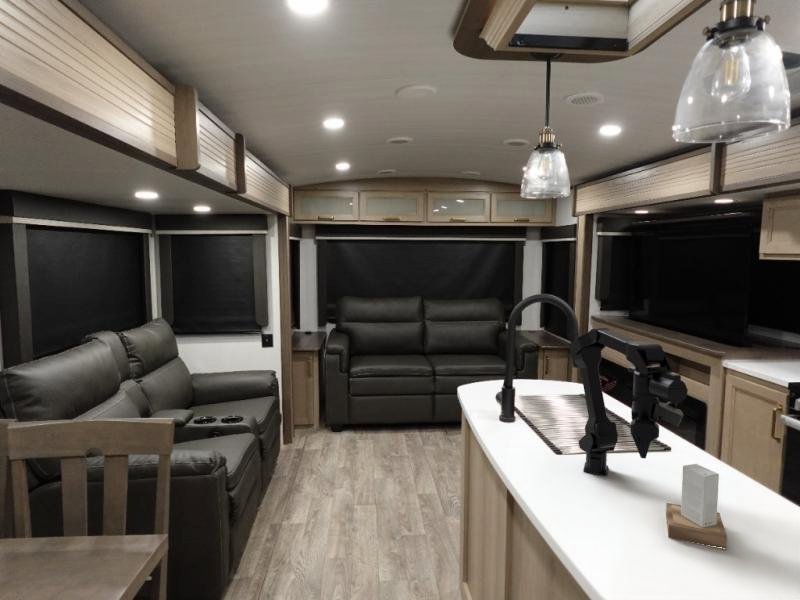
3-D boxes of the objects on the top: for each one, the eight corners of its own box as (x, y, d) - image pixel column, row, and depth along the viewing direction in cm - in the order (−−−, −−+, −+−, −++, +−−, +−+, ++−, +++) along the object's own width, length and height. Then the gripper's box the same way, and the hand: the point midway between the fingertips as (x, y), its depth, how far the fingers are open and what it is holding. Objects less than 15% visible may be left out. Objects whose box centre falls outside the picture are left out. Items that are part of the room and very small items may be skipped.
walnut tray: (665, 514, 121) (666, 502, 121) (718, 524, 116) (719, 512, 116) (668, 537, 111) (669, 524, 111) (726, 549, 106) (726, 536, 106)
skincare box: (717, 525, 110) (720, 473, 109) (702, 528, 109) (705, 476, 108) (693, 511, 116) (696, 462, 115) (679, 514, 115) (682, 465, 114)
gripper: (684, 406, 114) (681, 471, 115) (678, 387, 130) (676, 444, 132) (631, 400, 119) (629, 463, 120) (632, 382, 135) (630, 437, 137)
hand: (643, 451), depth 127 cm, fingers open, 9 cm apart
